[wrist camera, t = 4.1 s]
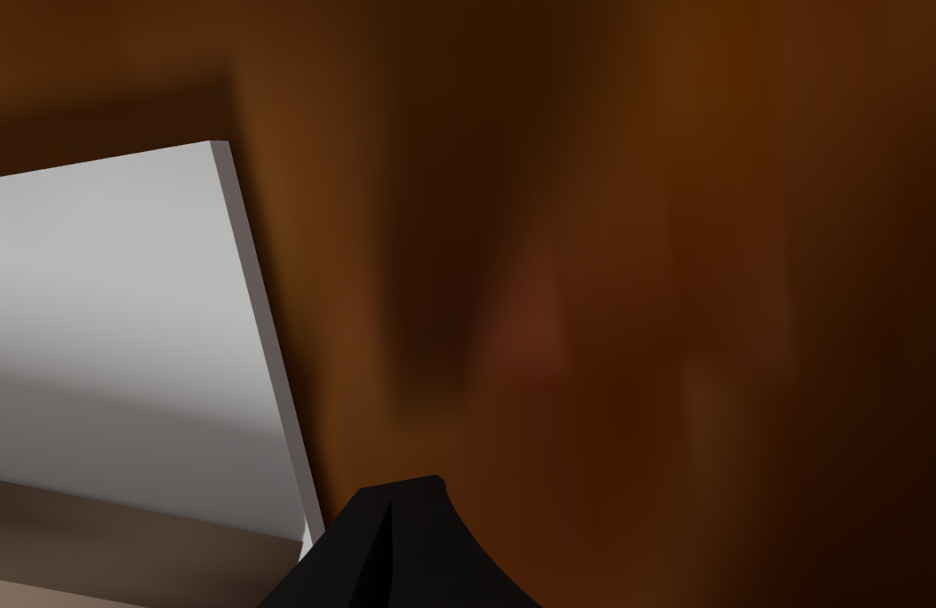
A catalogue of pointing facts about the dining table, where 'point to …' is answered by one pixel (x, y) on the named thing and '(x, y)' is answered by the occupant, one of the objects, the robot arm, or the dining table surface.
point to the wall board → (147, 345)
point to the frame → (128, 556)
